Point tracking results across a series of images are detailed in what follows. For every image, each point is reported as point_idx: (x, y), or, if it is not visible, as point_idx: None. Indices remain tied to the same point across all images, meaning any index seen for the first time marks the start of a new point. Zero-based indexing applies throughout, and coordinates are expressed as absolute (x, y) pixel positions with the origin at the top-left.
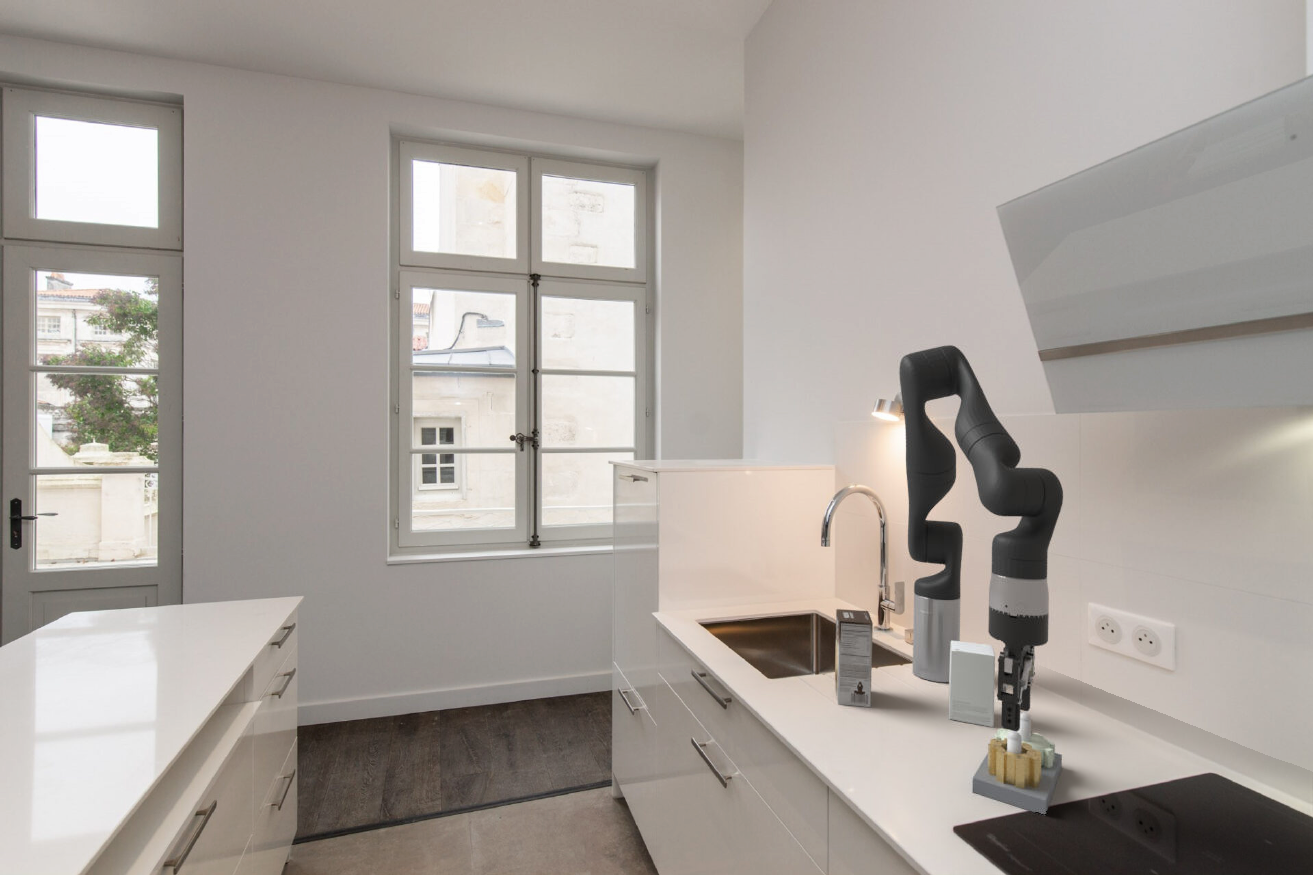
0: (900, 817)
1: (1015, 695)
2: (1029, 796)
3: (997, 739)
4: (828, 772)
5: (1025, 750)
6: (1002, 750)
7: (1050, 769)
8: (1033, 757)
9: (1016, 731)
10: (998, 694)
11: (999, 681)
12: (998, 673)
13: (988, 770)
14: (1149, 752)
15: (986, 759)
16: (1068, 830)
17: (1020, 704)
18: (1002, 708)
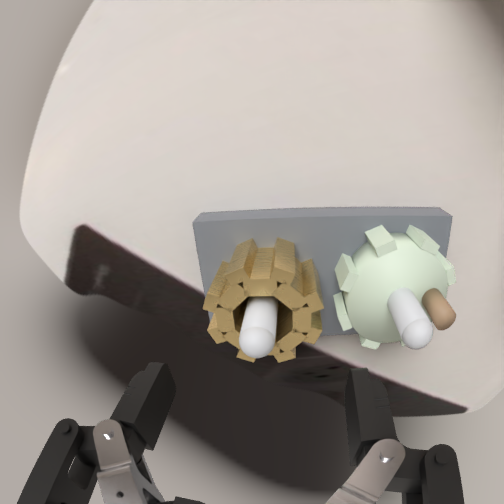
0: (51, 161)
1: (74, 463)
2: (209, 314)
3: (291, 280)
4: (86, 14)
5: (281, 335)
6: (226, 302)
7: (352, 326)
8: (243, 354)
9: (437, 277)
10: (54, 432)
11: (38, 465)
12: (27, 482)
13: (243, 243)
14: (500, 368)
15: (313, 221)
16: (203, 344)
17: (152, 448)
18: (129, 402)
